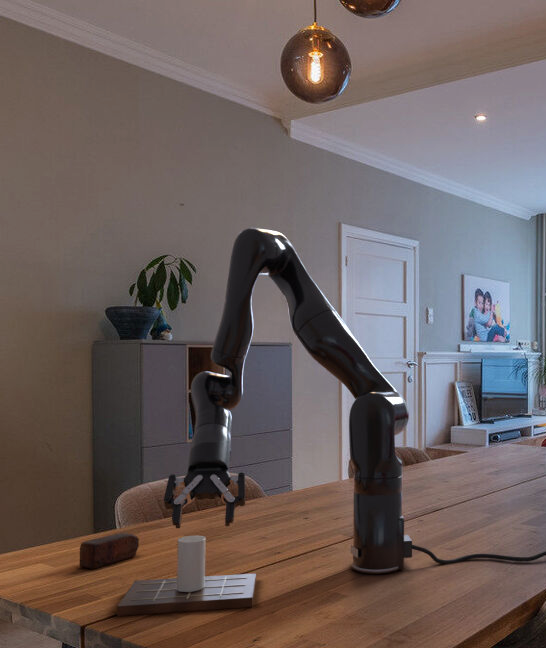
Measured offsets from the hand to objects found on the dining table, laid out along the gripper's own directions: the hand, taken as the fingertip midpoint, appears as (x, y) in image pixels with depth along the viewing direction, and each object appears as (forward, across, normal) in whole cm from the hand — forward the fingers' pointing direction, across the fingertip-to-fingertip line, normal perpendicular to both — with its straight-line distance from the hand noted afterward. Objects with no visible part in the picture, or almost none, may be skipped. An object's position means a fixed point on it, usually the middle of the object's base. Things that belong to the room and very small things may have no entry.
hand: (202, 525), depth 131 cm
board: (+14, 0, -1) cm, 14 cm away
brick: (-3, -19, +17) cm, 25 cm away
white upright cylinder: (+13, -1, -2) cm, 13 cm away
